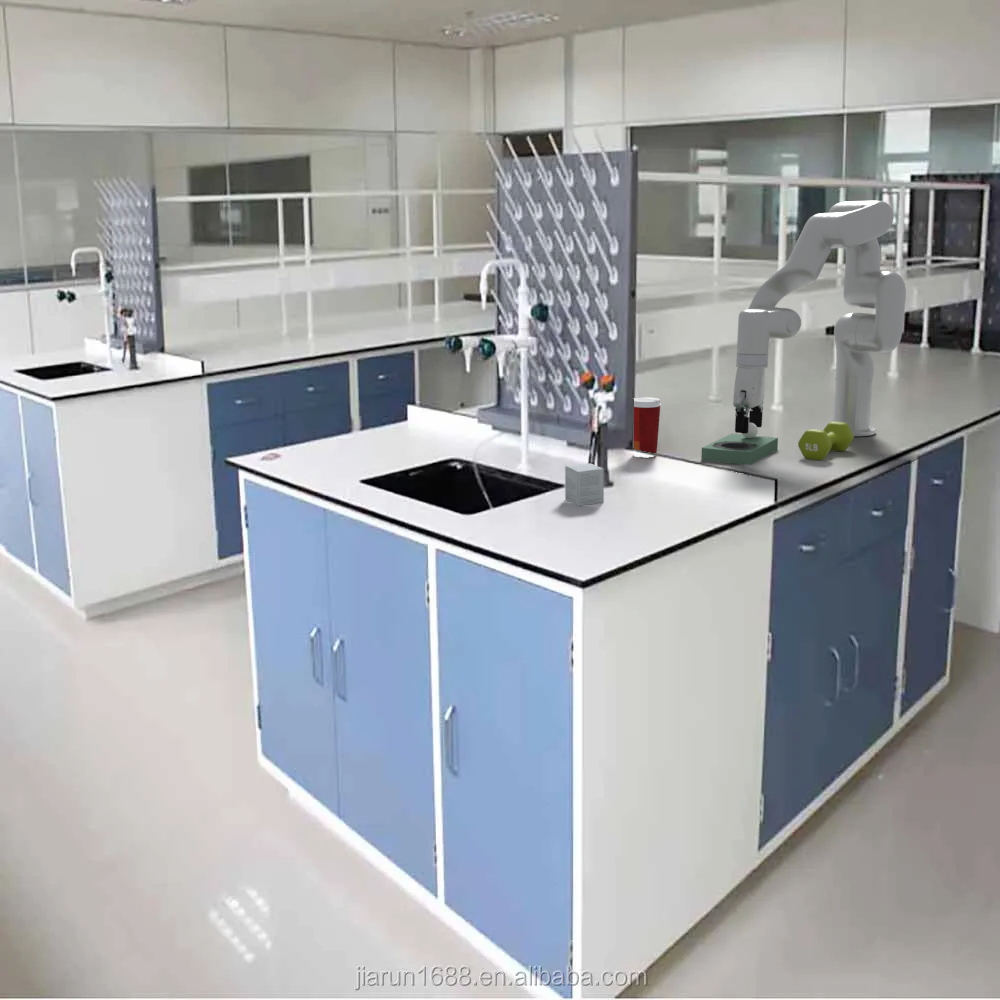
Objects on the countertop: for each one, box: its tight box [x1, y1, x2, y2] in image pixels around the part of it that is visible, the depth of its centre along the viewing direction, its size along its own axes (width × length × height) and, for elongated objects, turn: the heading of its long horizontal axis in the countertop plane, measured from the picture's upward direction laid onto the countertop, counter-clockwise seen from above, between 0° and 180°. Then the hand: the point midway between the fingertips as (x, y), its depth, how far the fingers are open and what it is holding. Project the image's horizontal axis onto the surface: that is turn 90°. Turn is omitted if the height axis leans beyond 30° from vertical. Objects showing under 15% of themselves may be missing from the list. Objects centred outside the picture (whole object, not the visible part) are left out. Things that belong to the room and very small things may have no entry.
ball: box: [741, 422, 759, 439], centre depth 264 cm, size 4×4×4 cm
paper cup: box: [633, 396, 663, 453], centre depth 259 cm, size 8×8×14 cm
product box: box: [564, 462, 605, 507], centre depth 219 cm, size 6×6×7 cm
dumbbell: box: [797, 420, 855, 461], centre depth 258 cm, size 16×8×7 cm, turn 138°
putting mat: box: [700, 433, 779, 466], centre depth 260 cm, size 20×12×3 cm, turn 147°
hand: (748, 429), depth 263 cm, fingers open, 9 cm apart
